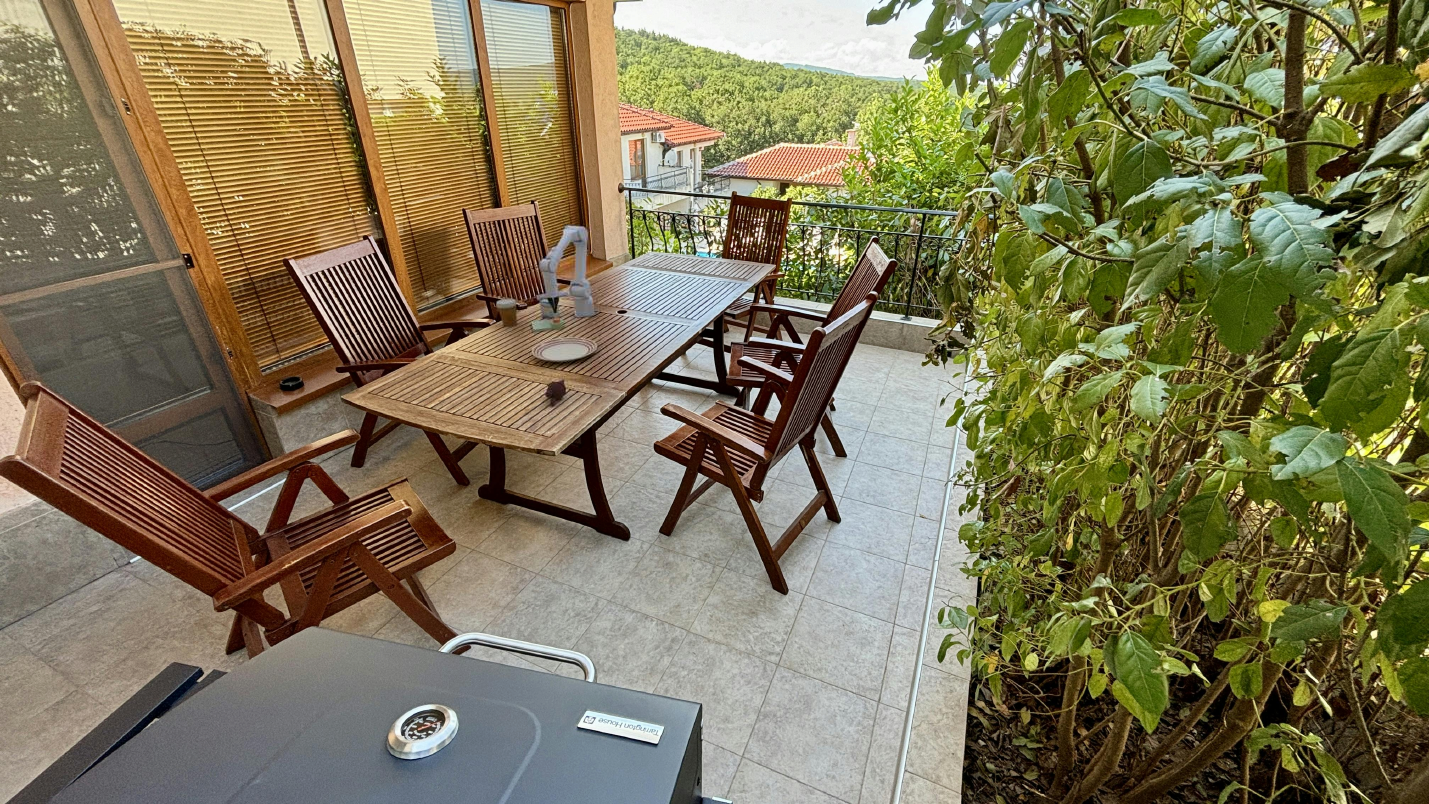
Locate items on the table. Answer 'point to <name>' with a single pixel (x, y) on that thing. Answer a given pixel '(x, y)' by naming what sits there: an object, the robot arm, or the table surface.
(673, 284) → the table surface
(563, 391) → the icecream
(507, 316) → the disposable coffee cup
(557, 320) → the power button
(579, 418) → the table surface
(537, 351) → the dinner plate
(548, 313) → the medicine box
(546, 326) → the scale
